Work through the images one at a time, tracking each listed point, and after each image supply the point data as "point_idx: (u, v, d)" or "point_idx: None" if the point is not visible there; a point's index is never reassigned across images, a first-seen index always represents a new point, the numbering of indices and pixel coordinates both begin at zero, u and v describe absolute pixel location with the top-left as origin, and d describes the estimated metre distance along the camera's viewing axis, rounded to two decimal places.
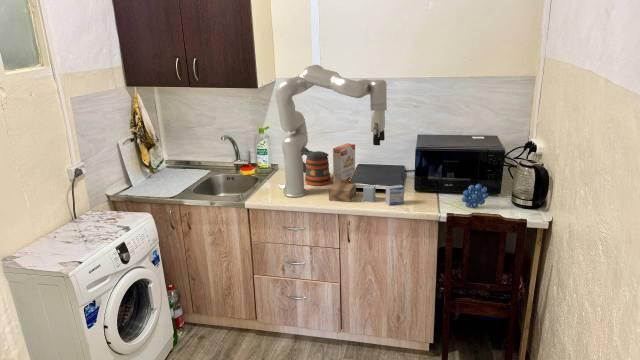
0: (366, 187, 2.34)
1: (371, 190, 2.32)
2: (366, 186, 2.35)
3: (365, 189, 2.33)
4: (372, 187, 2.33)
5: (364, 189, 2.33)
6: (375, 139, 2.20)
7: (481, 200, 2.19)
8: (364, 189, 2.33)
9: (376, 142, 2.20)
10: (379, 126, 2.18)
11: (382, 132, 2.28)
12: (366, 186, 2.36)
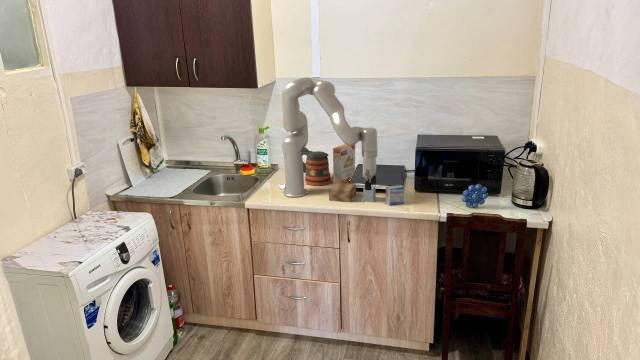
0: None
1: (371, 190, 2.32)
2: None
3: None
4: (372, 187, 2.33)
5: (364, 189, 2.33)
6: (366, 184, 2.28)
7: (481, 200, 2.19)
8: (364, 189, 2.33)
9: (367, 187, 2.28)
10: (370, 172, 2.26)
11: (373, 176, 2.37)
12: None
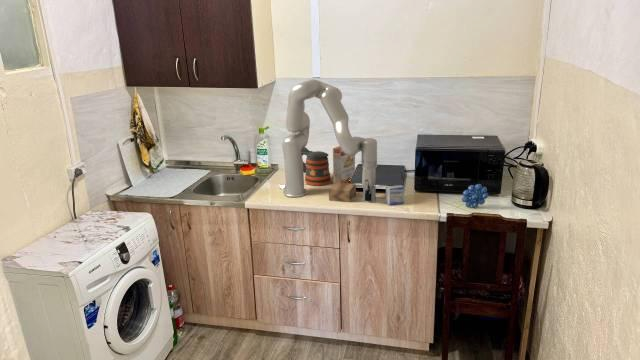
0: None
1: (371, 189, 2.32)
2: None
3: None
4: (372, 187, 2.33)
5: (364, 189, 2.33)
6: (367, 195, 2.32)
7: (481, 200, 2.19)
8: (364, 188, 2.33)
9: (367, 198, 2.32)
10: (370, 185, 2.29)
11: None
12: None
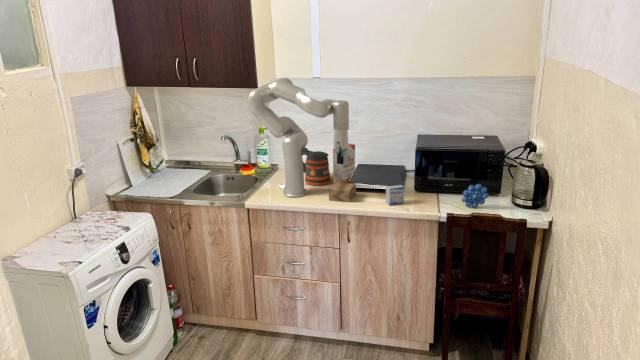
0: None
1: (343, 152, 2.31)
2: None
3: None
4: (344, 150, 2.32)
5: None
6: (338, 158, 2.31)
7: (481, 200, 2.19)
8: None
9: (339, 161, 2.31)
10: (341, 147, 2.28)
11: None
12: None
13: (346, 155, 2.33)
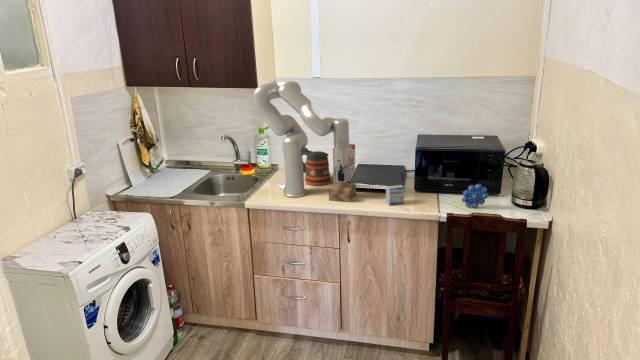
0: None
1: (343, 170, 2.33)
2: None
3: None
4: (345, 167, 2.35)
5: None
6: (339, 175, 2.34)
7: (481, 200, 2.19)
8: (336, 169, 2.34)
9: (340, 178, 2.34)
10: (342, 165, 2.30)
11: None
12: None
13: (347, 172, 2.36)
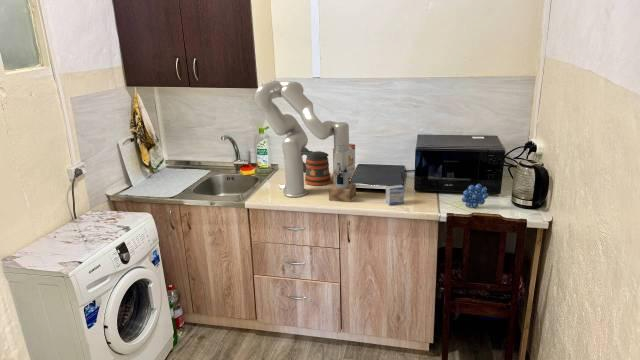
0: None
1: (343, 176, 2.34)
2: None
3: None
4: (345, 173, 2.36)
5: None
6: (338, 179, 2.33)
7: (481, 200, 2.19)
8: (336, 175, 2.36)
9: (339, 181, 2.34)
10: (341, 167, 2.31)
11: None
12: None
13: (346, 178, 2.37)
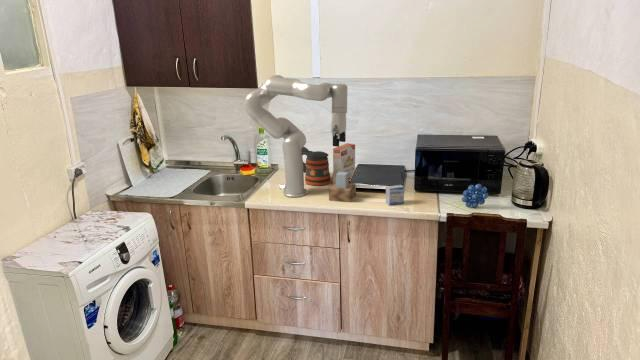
0: (339, 173, 2.36)
1: (343, 176, 2.34)
2: (339, 172, 2.38)
3: (338, 175, 2.35)
4: (345, 173, 2.36)
5: (337, 175, 2.35)
6: (334, 140, 2.29)
7: (481, 200, 2.19)
8: (336, 175, 2.36)
9: (335, 143, 2.30)
10: (338, 128, 2.28)
11: (343, 134, 2.38)
12: (339, 172, 2.38)
13: (346, 178, 2.37)
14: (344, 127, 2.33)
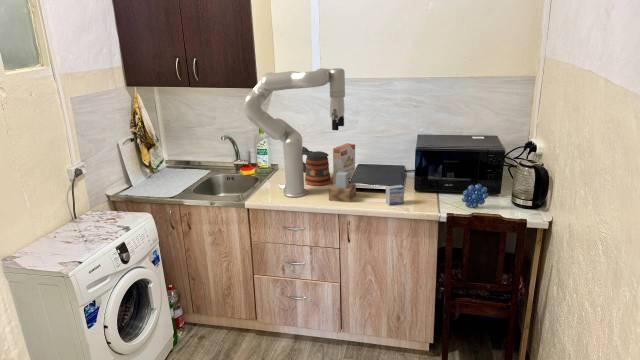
0: (339, 173, 2.36)
1: (343, 176, 2.34)
2: (339, 172, 2.38)
3: (338, 175, 2.35)
4: (345, 173, 2.36)
5: (337, 175, 2.35)
6: (333, 124, 2.33)
7: (481, 200, 2.19)
8: (336, 175, 2.36)
9: (334, 127, 2.33)
10: (337, 112, 2.31)
11: (342, 118, 2.41)
12: (339, 172, 2.38)
13: (346, 178, 2.37)
14: (342, 111, 2.36)
